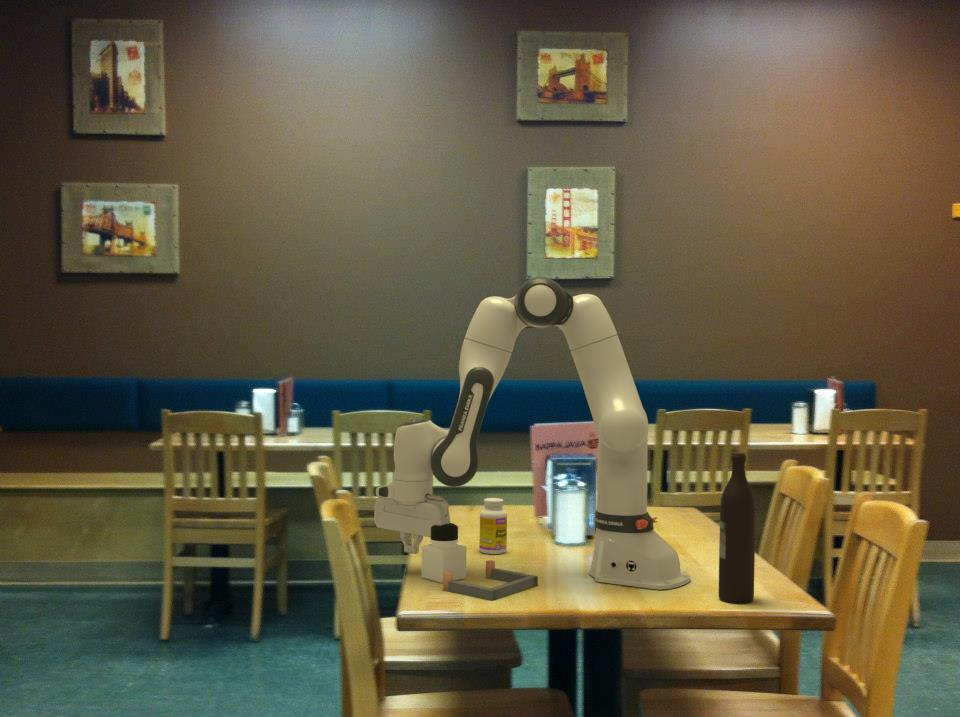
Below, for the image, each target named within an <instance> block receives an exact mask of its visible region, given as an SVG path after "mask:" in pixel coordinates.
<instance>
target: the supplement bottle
mask: <svg viewBox="0 0 960 717" xmlns="http://www.w3.org/2000/svg"><path fill="white" fill-rule="evenodd" d="M483 502H484V503H483V504H484V508H483V509H482V510H481V511H480V512H479V541H478V542H479V547H478V548H479V551H480V553H483V554H487V555H500V554H505V553H506V552H507V547H508V543H507V542H508V541H507V540H508V537H507V535H508V534H507V532H508V531H507V530H508V512H507V511H506V510H505V509H503V506H504V499H503V498H498V497H487V498H484V499H483Z"/></svg>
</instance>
